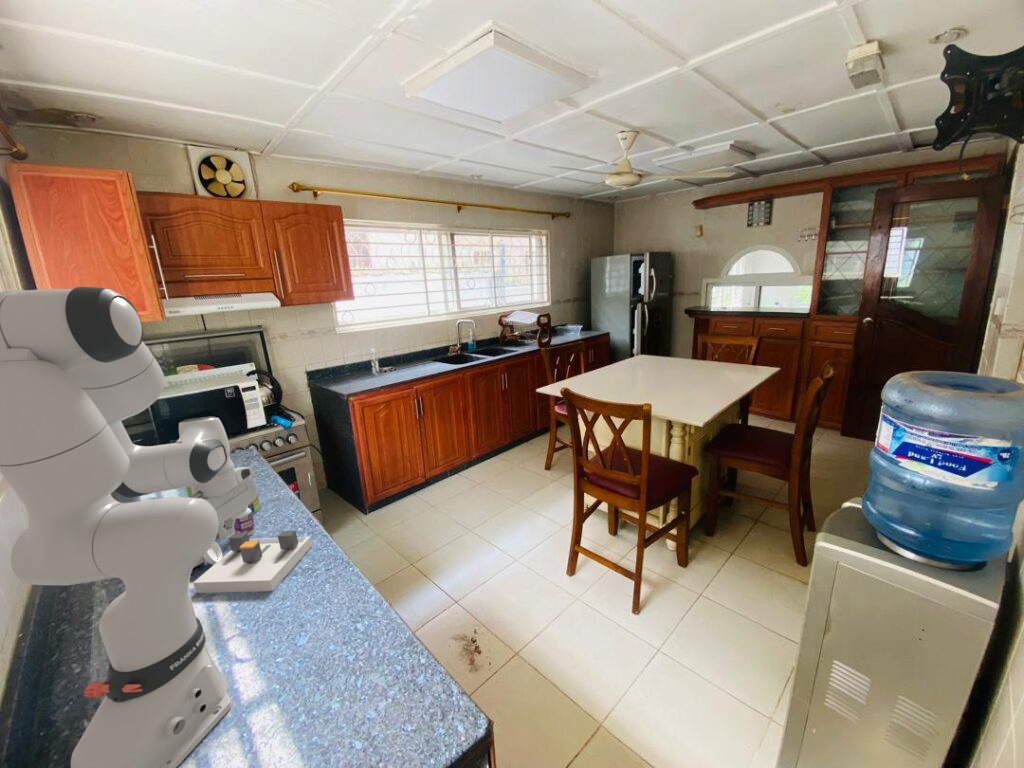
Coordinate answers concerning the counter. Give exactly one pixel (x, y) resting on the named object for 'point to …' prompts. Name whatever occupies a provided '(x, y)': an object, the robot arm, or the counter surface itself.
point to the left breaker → (238, 540)
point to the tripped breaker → (251, 551)
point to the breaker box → (252, 568)
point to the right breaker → (288, 540)
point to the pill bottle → (244, 521)
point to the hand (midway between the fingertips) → (227, 535)
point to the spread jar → (210, 556)
